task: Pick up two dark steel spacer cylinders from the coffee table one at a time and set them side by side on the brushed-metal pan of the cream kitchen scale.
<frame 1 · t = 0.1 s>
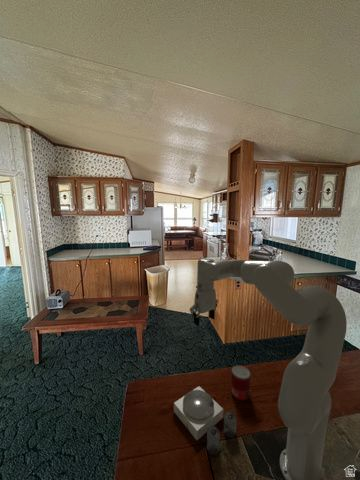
hand: (204, 321, 98), 31 cm above the table, fingers open, 9 cm apart
canned food: (239, 393, 96), on the table
spacer a: (212, 447, 73), on the table
spacer b: (229, 431, 79), on the table
scale: (198, 414, 85), on the table
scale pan: (198, 403, 85), point 5 cm above the table, slide at -0.6 cm
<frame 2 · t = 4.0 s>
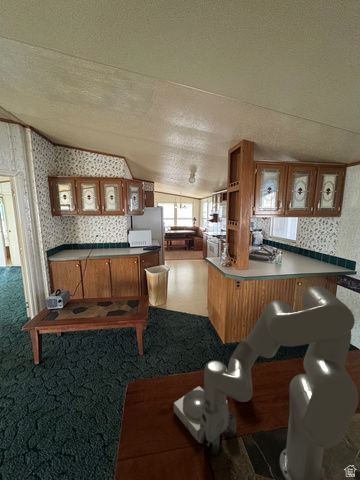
hand: (212, 445, 73), 1 cm above the table, fingers closed on spacer a, 4 cm apart
spacer a: (212, 447, 74), on the table, touching gripper
everything else where it was.
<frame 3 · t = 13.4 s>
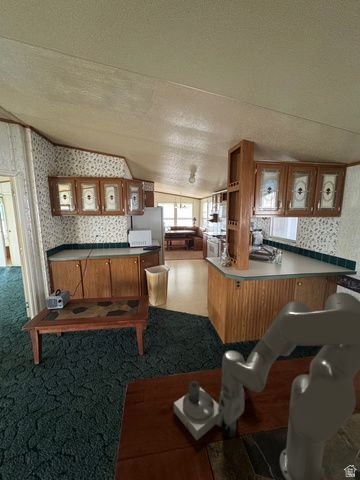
hand: (229, 429, 79), 1 cm above the table, fingers closed on spacer b, 4 cm apart
spacer a: (193, 398, 87), point 5 cm above the table, touching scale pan
spacer b: (229, 431, 79), on the table, touching gripper
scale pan: (198, 403, 85), point 5 cm above the table, slide at -0.7 cm, touching spacer a
everything else where it was.
when the fingers open (8 cm above the table, at t = 17.2 s): spacer b drops 2 cm, resting on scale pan.
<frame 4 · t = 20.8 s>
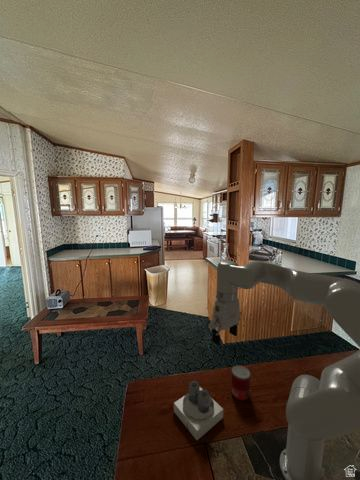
hand: (224, 338, 79), 34 cm above the table, fingers open, 9 cm apart
spacer b: (203, 408, 82), point 5 cm above the table, touching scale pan
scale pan: (198, 403, 85), point 5 cm above the table, slide at -0.7 cm, touching spacer a, spacer b
everything else where it was.
at the end: spacer a inside the target area on the scale (2.7 cm from its centre), point 5.3 cm above the scale's base; spacer b inside the target area on the scale (2.9 cm from its centre), point 5.3 cm above the scale's base; spacer b tilted 0° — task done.
